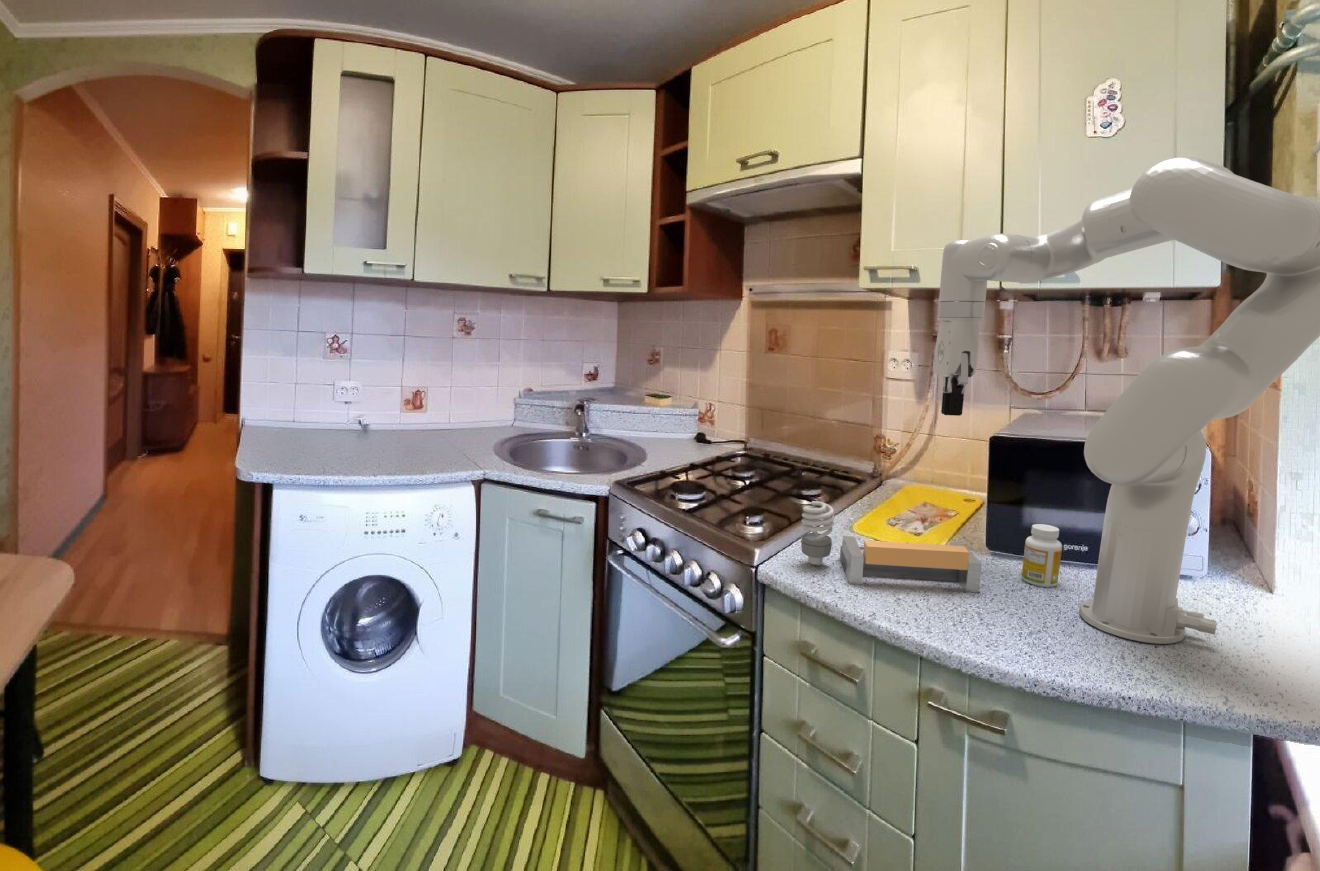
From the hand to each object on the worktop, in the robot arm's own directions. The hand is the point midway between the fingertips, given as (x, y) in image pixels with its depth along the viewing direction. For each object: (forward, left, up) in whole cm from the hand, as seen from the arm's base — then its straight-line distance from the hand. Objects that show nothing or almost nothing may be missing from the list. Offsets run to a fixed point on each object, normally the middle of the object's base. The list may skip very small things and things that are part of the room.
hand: (951, 414), depth 118 cm
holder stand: (+2, +14, -27) cm, 30 cm away
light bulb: (+16, +20, -27) cm, 37 cm away
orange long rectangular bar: (-1, +18, -23) cm, 29 cm away
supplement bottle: (-17, +2, -27) cm, 32 cm away
